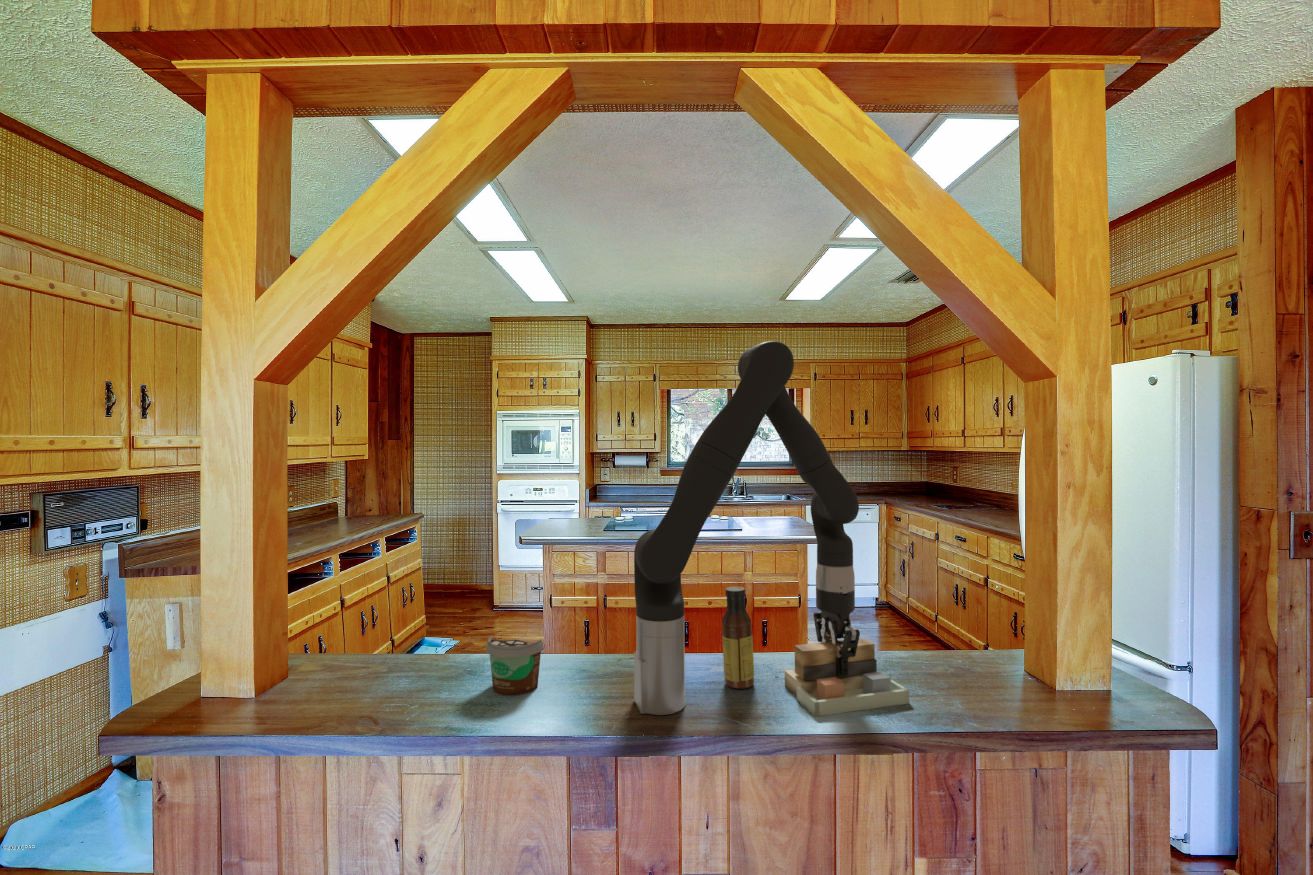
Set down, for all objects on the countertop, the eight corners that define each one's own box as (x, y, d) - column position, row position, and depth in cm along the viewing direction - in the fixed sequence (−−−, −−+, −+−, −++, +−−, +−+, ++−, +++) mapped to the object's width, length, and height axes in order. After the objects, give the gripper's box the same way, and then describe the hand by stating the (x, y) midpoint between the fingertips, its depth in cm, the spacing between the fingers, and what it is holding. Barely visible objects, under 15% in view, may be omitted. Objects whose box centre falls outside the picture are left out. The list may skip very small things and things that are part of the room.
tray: (815, 716, 106) (815, 702, 106) (796, 699, 113) (796, 687, 113) (909, 703, 111) (909, 690, 111) (886, 688, 118) (886, 676, 118)
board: (801, 699, 113) (801, 683, 113) (784, 684, 120) (784, 670, 120) (881, 688, 118) (881, 674, 118) (861, 675, 125) (861, 661, 125)
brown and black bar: (804, 680, 114) (804, 652, 114) (794, 672, 118) (794, 645, 118) (876, 672, 118) (876, 644, 118) (864, 664, 122) (864, 638, 122)
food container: (474, 694, 116) (474, 644, 117) (490, 682, 122) (489, 634, 123) (530, 700, 114) (530, 649, 114) (544, 688, 120) (544, 639, 120)
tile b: (863, 694, 114) (872, 700, 111) (863, 673, 114) (872, 679, 111) (881, 691, 115) (890, 698, 112) (880, 671, 115) (890, 677, 112)
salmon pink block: (817, 700, 112) (825, 706, 109) (816, 679, 112) (825, 685, 109) (835, 697, 113) (844, 704, 110) (835, 676, 113) (844, 682, 110)
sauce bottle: (753, 678, 124) (752, 584, 124) (755, 690, 117) (754, 592, 118) (722, 677, 124) (721, 584, 124) (722, 689, 118) (721, 591, 118)
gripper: (801, 579, 124) (801, 660, 124) (837, 596, 110) (838, 687, 110) (832, 577, 126) (833, 656, 126) (872, 593, 112) (873, 683, 112)
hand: (835, 670), depth 118 cm, fingers closed on brown and black bar, 4 cm apart
